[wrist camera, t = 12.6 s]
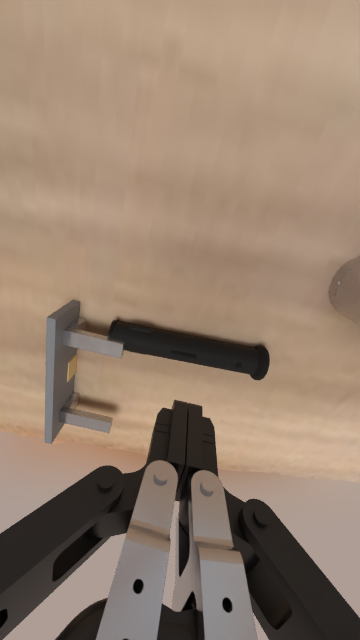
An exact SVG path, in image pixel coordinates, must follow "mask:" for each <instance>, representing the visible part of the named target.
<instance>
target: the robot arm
mask: <svg viewBox="0 0 360 640" xmlns="http://www.w3.org/2000/svg"><path fill="white" fill-rule="evenodd" d="M329 298H330V301H331V304H332V305H333V307H334V308H335V309H336V310H337V311H338V312H340V313H341V314H343V315H344V316H346V317H347V318H349V319H350V320H352V321H353V322H354V323H356V324H357V325H359V326H360V257H357V258H354V259H352V260H351V261H349V262H347V263H346V264H345V265H343V266H342V267H341V268H340V269H339V270H338V271H337V273H336V274H335V276H334V277H333V279H332V281H331V284H330V288H329ZM175 501H180V506H179V513H178V516H177V519H176V576H175V588H174V593H173V601H172V609H170V608H168V607H167V606H165V605H163V604H162V599H163V592H164V586H165V578H166V572H167V564H168V557H169V550H170V528H171V521H172V515H173V509H174V502H175ZM124 533H127V534H126V537H125V541H124V544H123V548H122V551H121V555H120V558H119V562H118V565H117V569H116V572H115V575H114V579H113V582H112V585H111V589H110V592H109V596H108V598H105V599H103V600H100V601H97V602H96V603H94V604H92V605H90V606H89V607H87V608H86V609H84V610H83V611H82V612H81V613H79V614H78V615H77V616H76V617H75V618H74V619H73V620H72V621H71V622H70V623H69V624H68V625H67V627H66V628H65V629H64V630H63V631H62V632H61V633H60V635H59V636H58V637H57V638H56V639H55V640H258V639H257V634H256V629H255V623H254V618H253V613H254V615H255V616H256V618H257V620H258V621H259V623H260V625H261V627H262V628H263V630H264V632H265V633H266V635H267V637H268V639H269V640H360V618H359V617H358V615H357V614H356V613H355V612H354V610H353V609H352V608H351V607H350V606H349V604H348V603H347V602H346V601H345V599H344V598H343V597H342V596H341V595H340V593H339V592H338V591H337V590H336V588H335V587H334V586H333V585H332V583H331V582H330V581H329V580H328V578H326V576H325V575H324V574H323V572H322V571H321V570H320V569H319V567H318V566H317V565H316V564H315V563H314V561H313V560H312V559H311V558H310V556H309V555H308V554H307V553H306V552H305V550H304V549H303V548H302V546H300V544H299V543H298V542H297V540H296V539H295V538H294V537H293V536H292V534H291V533H290V532H289V530H288V529H287V528H286V527H285V526H284V524H283V523H282V522H281V521H280V519H279V518H278V517H277V516H276V515H275V513H274V512H273V511H272V510H271V508H270V507H269V506H268V505H266V504H265V503H264V502H262V501H260V500H257V499H250V500H248V501H246V502H243V501H242V500H240V499H238V498H236V497H235V496H233V495H232V494H230V493H229V492H228V491H227V490H226V489H225V488H224V487H223V485H222V483H221V481H220V479H219V477H218V469H217V456H216V445H215V431H214V426H213V424H212V422H211V420H210V418H206V417H202V406H199V405H195V404H191V403H186V402H182V401H178V400H174V403H173V406H172V410H171V409H167V408H162V409H161V411H160V412H159V413H158V415H157V419H156V422H155V426H154V430H153V434H152V438H151V443H150V448H149V453H148V458H147V462H146V465H145V466H144V467H143V468H142V469H140V470H138V471H136V472H133V473H125V474H122V473H121V471H120V470H119V469H117V468H115V467H113V466H102V467H99V468H97V469H96V470H94V471H93V472H91V473H90V474H88V475H87V476H85V477H84V478H82V479H81V480H79V481H78V482H77V483H75V484H74V485H72V486H70V487H69V488H67V489H66V490H65V491H63V492H61V493H60V494H58V495H57V496H56V497H54V498H53V499H51V500H50V501H48V502H47V503H45V504H44V505H42V506H41V507H40V508H38V509H36V510H35V511H33V512H32V513H30V514H29V515H27V516H26V517H24V518H23V519H22V520H20V521H19V522H17V523H15V524H14V525H13V526H11V527H10V528H9V529H7V530H5V531H4V532H2V533H1V534H0V640H2V639H4V638H5V636H7V635H8V634H9V633H10V632H11V631H12V630H13V629H14V628H15V627H16V626H17V625H18V624H19V623H20V622H21V621H23V620H24V619H25V618H26V617H27V616H28V615H29V614H30V613H31V612H32V611H33V610H34V609H35V608H36V607H37V606H38V605H39V604H40V603H41V602H43V600H44V599H46V598H47V597H48V596H49V595H50V594H51V593H52V592H53V591H54V590H55V589H56V588H57V587H58V586H59V585H61V584H62V582H64V581H65V580H66V579H67V578H68V577H69V576H70V575H71V574H72V573H73V572H74V571H75V570H76V569H77V568H78V567H80V566H81V565H82V564H83V563H84V562H85V561H86V560H87V559H88V558H89V557H90V556H91V555H92V554H93V553H94V552H95V551H96V550H97V549H98V548H100V546H102V545H103V544H104V543H105V542H106V541H107V540H108V539H109V538H110V537H111V536H114V535H119V534H124ZM252 611H253V612H252Z"/></svg>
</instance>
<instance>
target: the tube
mask: <svg viewBox="0 0 360 640" xmlns="http://www.w3.org/2000/svg"><path fill="white" fill-rule="evenodd" d="M108 338H114V339H118V340H122V341H125V345H124V350H127V351H130V352H135V353H140V354H148V355H153V356H158V357H163V358H168V359H173V360H178V361H184V362H189V363H194V364H199V365H204V366H209V367H215V368H220V369H225V370H230V371H235V372H240V373H245V374H250V376H251V377H252V378H253V379H254V380H261V379H263V378H264V377H265V375H266V374H267V371H268V368H269V361H270V358H269V352H268V350H267V349H266V348H265V347H264V346H257V347H255V348H249V347H244V346H239V345H234V344H229V343H224V342H218V341H213V340H208V339H203V338H198V337H193V336H188V335H183V334H177V333H172V332H167V331H162V330H157V329H152V328H149V327H144V326H139V325H134V324H126V323H121V322H119V321H118V320H114V321H113V322H112V324H111V326H110V329H109V333H108Z"/></svg>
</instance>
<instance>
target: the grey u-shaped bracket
mask: <svg viewBox="0 0 360 640" xmlns="http://www.w3.org/2000/svg"><path fill="white" fill-rule="evenodd" d="M85 326H86V319H85V318H81V317H78V318H77V319H76V320H75V321H74V322H73V323H71V324H70V325H69V326H68V327H67V328H65V329H64V330H63V345H66V346H70V347H75V348H79V349H83V350H87V351H91V352H96V353H100V354H104V355H108V356H113V357H117V358H122V356H123V353H124V345H125V341H122V340H118V339H114V338H108V336H104V335H99V334H95V333H91V332H87V331H85ZM79 394H80V393H77V392H73V393H72V394H71V396H70V397H69V399H68V400H67V401H66V403H65V404H64V406H63V407H62V408H61V410H60V411H59V422H62V423H66V424H71V425H75V426H79V427H84V428H88V429H92V430H97V431H101V432H106V433H109V432H110V429H111V425H112V419H113V418H111V417H107V416H103V415H98V414H94V413H90V412H85V411H81V410H77V409H75V408H76V406H77V405H78V403H79Z"/></svg>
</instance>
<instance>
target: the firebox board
mask: <svg viewBox="0 0 360 640" xmlns="http://www.w3.org/2000/svg"><path fill="white" fill-rule="evenodd" d="M79 311H80V302H79V301H75V300H72V301H71V302H69V303H68V304H66V305H65V306H63V307H62V308H60V309H59V310H57V311H56V312H54V313H53V314H51V315H50V316H48V317H47V334H46V390H45V442H46V443H50V444H52V442H53V441H54V439H55V437H56V436H57V434H58V433H59V431H60V430H61V428H62V427H63V425H64V424H65V423H62V422H59V411H60V410H61V408H62V407H63V406H64V404H65V403H66V401H67V400H68V399H69V397H70V396H71V394H72V393H73V391H74V378H75V373H76V366H77V354H76V351H77V348H75V347H70V346H66V345H63V330H64V329H65V328H67V327H68V326H69V325H70V324H71V323H73V322H74V321H75V320H76V319H77V318H78V317H79Z"/></svg>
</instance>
